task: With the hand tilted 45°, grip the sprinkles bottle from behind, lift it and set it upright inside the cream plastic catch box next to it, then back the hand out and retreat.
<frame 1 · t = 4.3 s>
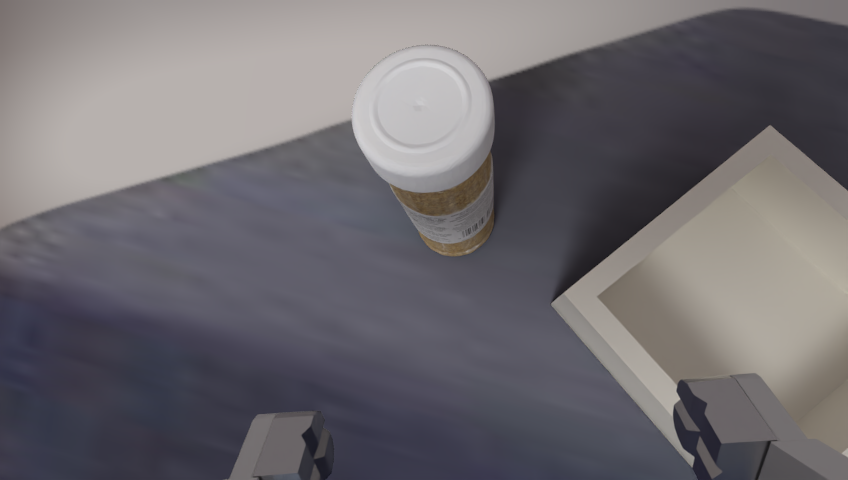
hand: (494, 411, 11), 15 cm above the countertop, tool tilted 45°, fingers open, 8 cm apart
catch box: (720, 322, 24), on the countertop
sprinkles bottle: (455, 221, 28), on the countertop
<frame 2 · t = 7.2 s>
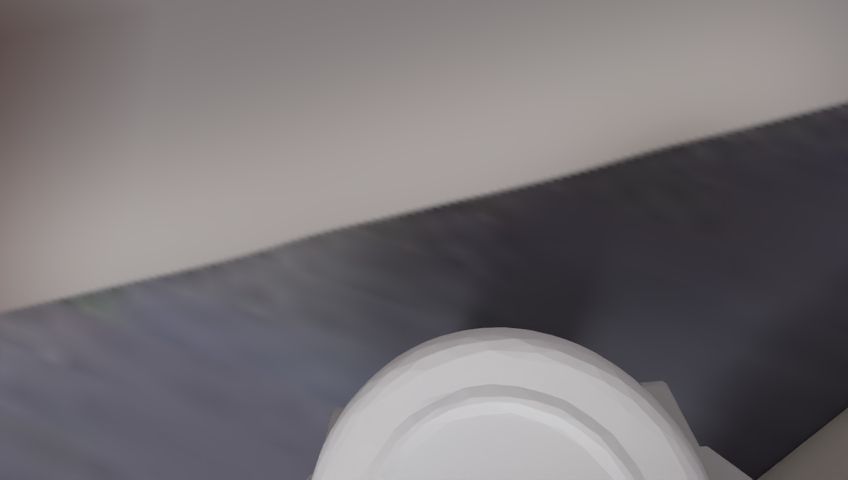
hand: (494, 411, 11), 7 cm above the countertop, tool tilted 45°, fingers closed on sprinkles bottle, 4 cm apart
sprinkles bottle: (494, 404, 18), on the countertop, touching gripper
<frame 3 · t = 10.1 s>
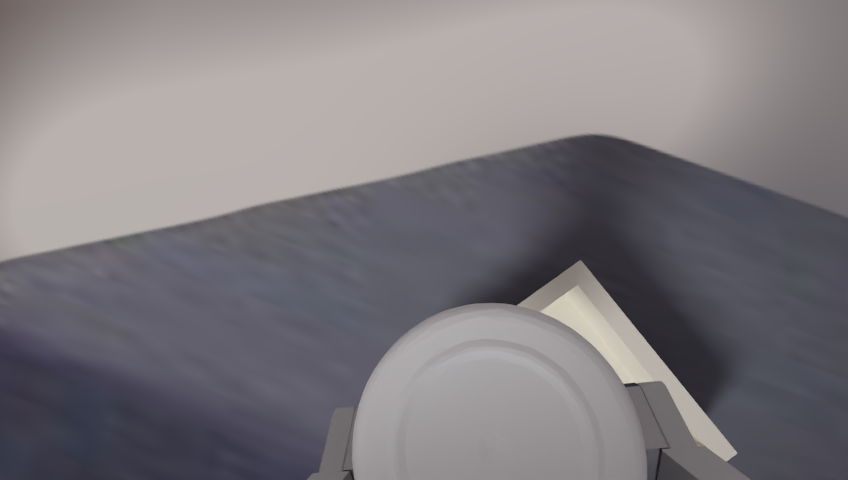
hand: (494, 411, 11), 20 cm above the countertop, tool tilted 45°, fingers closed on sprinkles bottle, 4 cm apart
catch box: (548, 406, 30), on the countertop
sprinkles bottle: (497, 410, 20), point 11 cm above the countertop, touching gripper
when the fingers open (9 cm above the countertop, at t = 13.0 s): sprinkles bottle stays where it is, resting on catch box.
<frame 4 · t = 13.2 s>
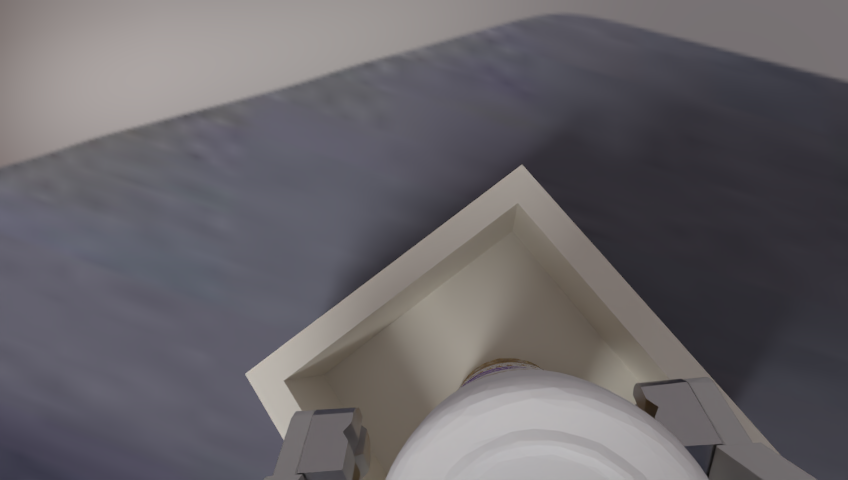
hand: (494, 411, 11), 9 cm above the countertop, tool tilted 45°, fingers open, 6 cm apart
catch box: (492, 401, 20), on the countertop
sprinkles bottle: (509, 417, 19), point 1 cm above the countertop, touching catch box
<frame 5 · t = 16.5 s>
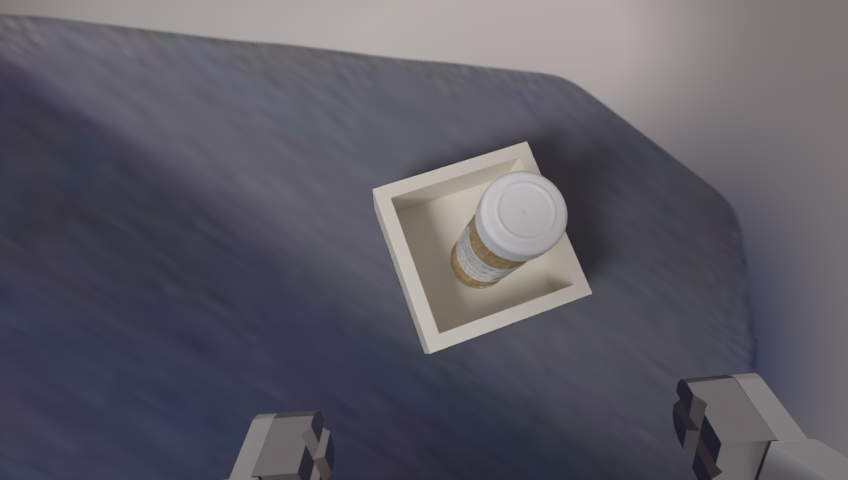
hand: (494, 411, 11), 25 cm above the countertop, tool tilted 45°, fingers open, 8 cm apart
catch box: (469, 255, 38), on the countertop
sprinkles bottle: (477, 261, 37), point 1 cm above the countertop, touching catch box
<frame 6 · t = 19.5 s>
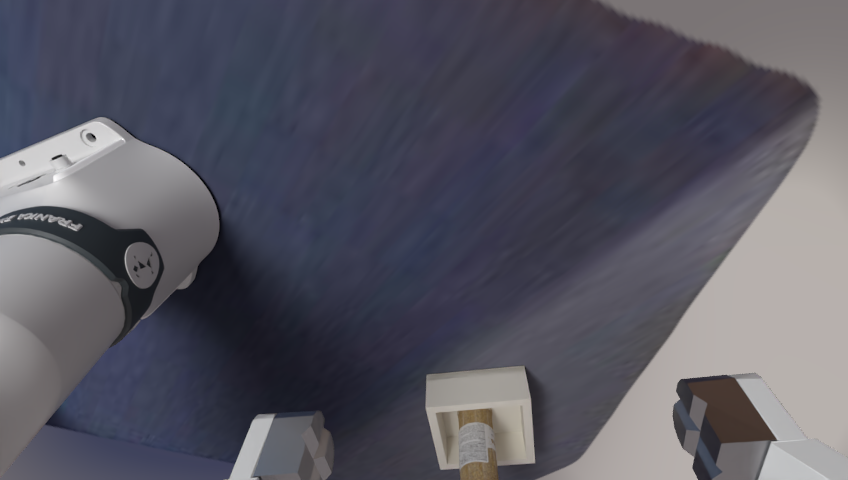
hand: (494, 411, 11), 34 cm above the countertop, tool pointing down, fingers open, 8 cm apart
catch box: (479, 402, 61), on the countertop
sprinkles bottle: (474, 409, 61), point 1 cm above the countertop, touching catch box
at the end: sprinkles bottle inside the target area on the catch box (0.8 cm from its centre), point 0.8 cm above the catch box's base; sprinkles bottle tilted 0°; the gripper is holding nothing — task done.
